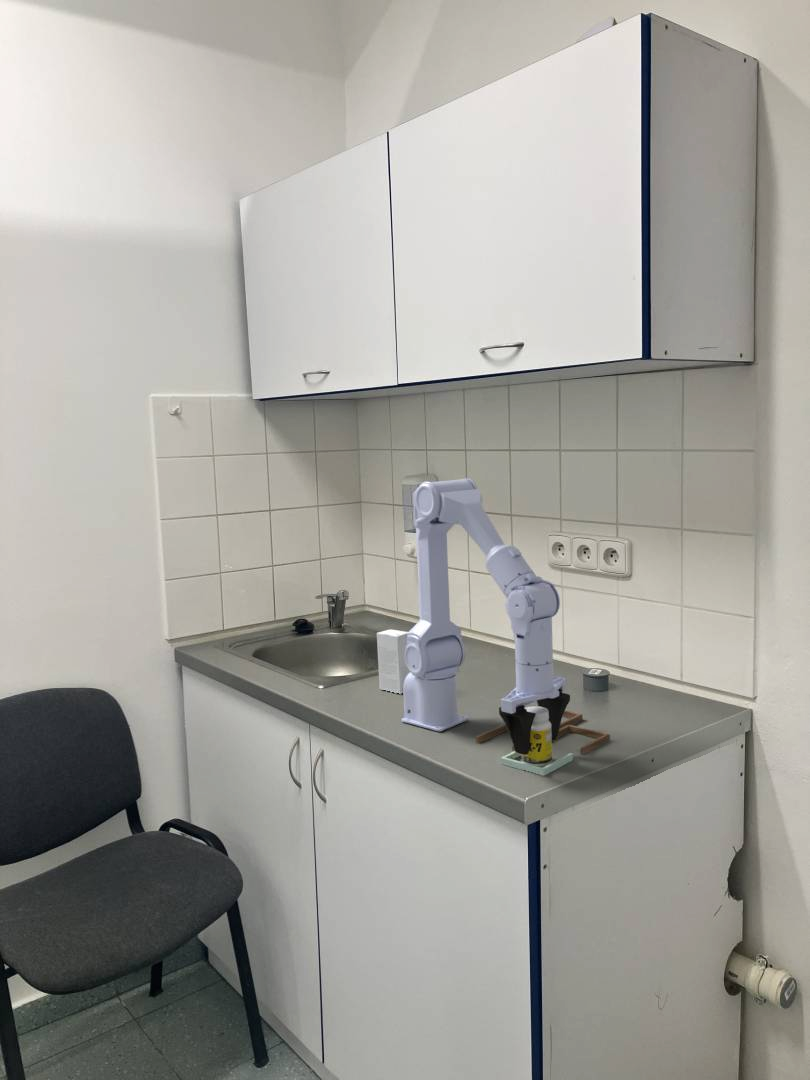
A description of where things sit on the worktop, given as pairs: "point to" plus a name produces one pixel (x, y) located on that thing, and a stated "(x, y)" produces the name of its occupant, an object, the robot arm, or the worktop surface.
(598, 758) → the worktop surface
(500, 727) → the frame
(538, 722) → the supplement bottle
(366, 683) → the worktop surface
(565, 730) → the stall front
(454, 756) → the worktop surface
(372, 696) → the worktop surface
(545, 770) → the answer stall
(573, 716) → the stall left
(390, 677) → the skincare box
